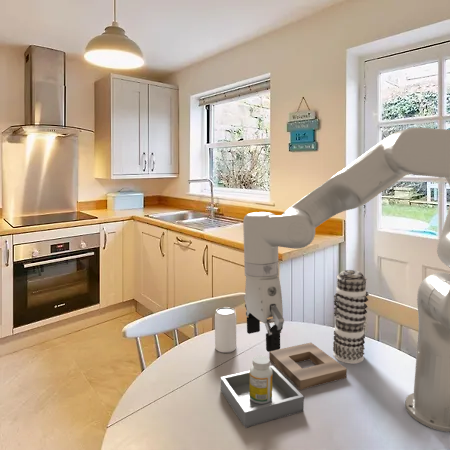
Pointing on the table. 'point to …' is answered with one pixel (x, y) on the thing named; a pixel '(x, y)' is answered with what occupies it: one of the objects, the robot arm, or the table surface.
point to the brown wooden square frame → (308, 376)
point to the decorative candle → (350, 316)
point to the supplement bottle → (261, 380)
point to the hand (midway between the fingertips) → (262, 340)
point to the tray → (259, 413)
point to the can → (225, 330)
